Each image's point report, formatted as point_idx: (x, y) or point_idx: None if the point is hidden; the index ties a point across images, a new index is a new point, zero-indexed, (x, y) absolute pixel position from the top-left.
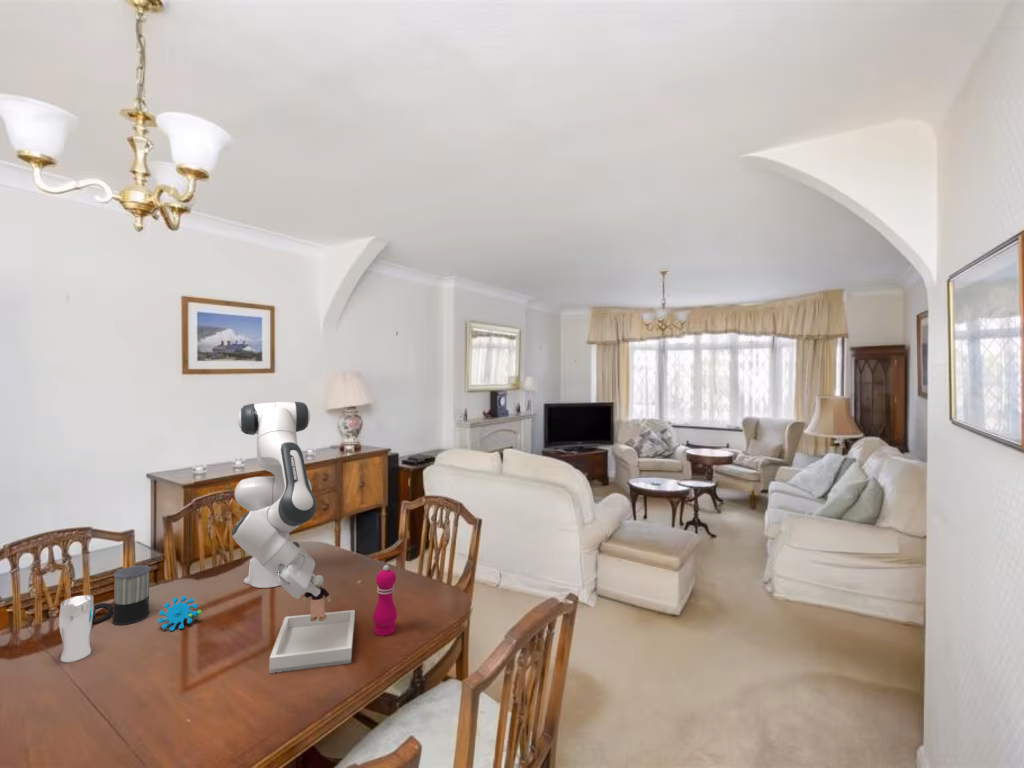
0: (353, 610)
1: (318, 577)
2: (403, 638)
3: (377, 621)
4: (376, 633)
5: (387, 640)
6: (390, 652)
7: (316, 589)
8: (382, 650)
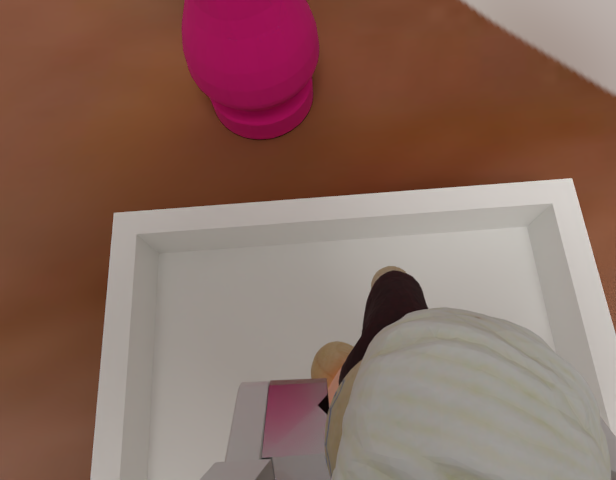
0: (120, 219)
1: (549, 426)
2: (346, 23)
3: (306, 75)
4: (297, 122)
5: (353, 80)
6: (455, 63)
7: (603, 430)
8: (436, 93)
